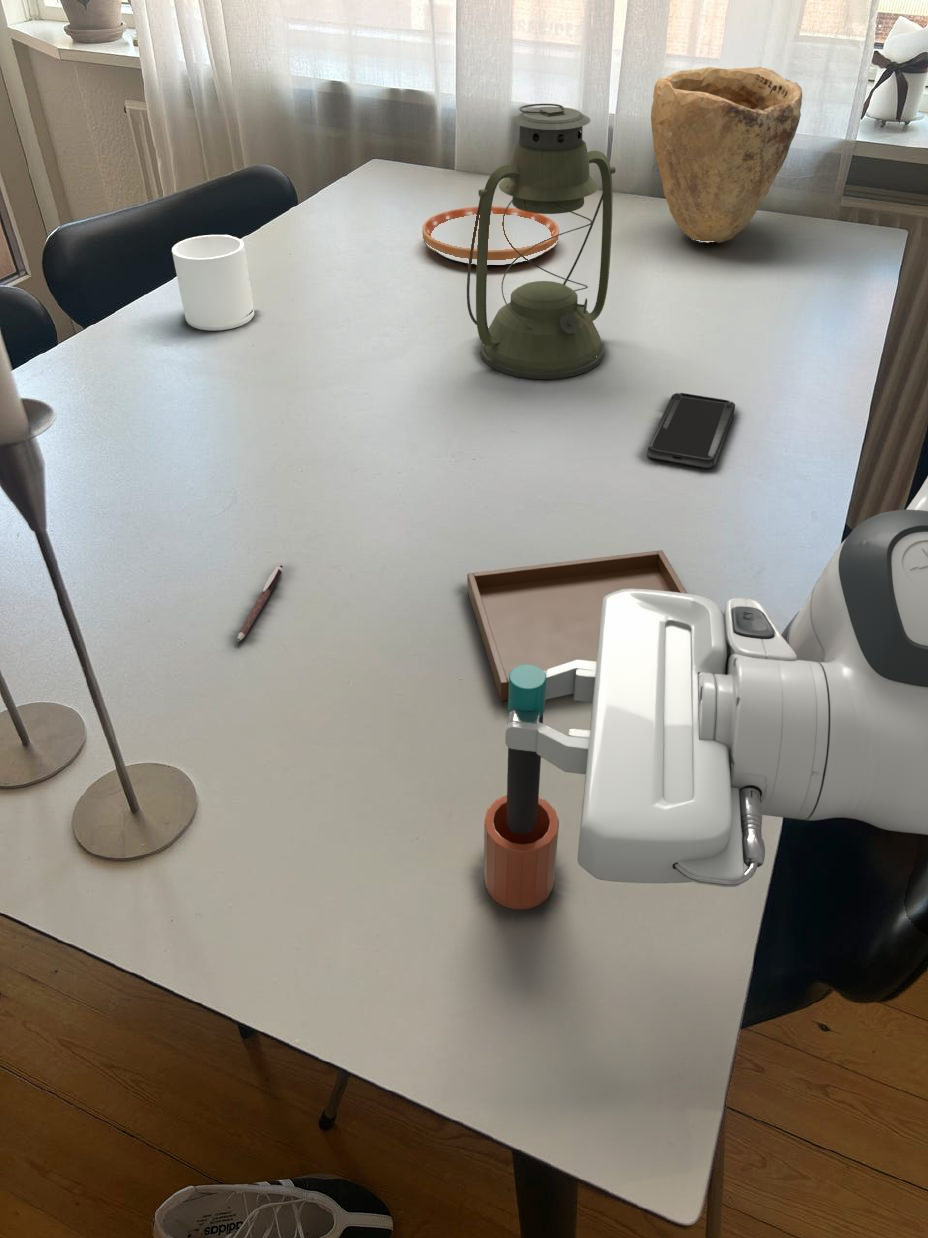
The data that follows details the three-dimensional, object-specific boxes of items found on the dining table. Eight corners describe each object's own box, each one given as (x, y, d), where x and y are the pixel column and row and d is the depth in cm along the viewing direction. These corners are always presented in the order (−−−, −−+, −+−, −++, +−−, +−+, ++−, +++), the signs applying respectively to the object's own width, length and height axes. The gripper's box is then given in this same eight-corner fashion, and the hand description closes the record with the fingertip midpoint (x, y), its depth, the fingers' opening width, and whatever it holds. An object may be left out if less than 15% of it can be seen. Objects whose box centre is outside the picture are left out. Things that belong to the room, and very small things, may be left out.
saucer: (511, 218, 176) (512, 197, 173) (584, 256, 160) (586, 233, 158) (399, 240, 167) (398, 218, 165) (465, 283, 152) (465, 259, 149)
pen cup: (544, 846, 69) (548, 787, 65) (561, 903, 66) (566, 845, 61) (478, 857, 69) (478, 798, 64) (492, 915, 65) (493, 856, 61)
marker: (533, 807, 64) (541, 661, 55) (541, 832, 62) (550, 686, 54) (502, 812, 63) (505, 666, 55) (509, 837, 62) (513, 691, 53)
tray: (659, 567, 95) (662, 549, 93) (718, 671, 83) (722, 653, 82) (467, 590, 92) (467, 573, 91) (500, 701, 81) (500, 683, 79)
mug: (239, 333, 138) (227, 261, 131) (174, 328, 140) (159, 256, 133) (270, 299, 147) (261, 231, 141) (209, 295, 149) (197, 227, 143)
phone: (736, 401, 118) (714, 460, 107) (735, 410, 119) (713, 469, 108) (672, 391, 120) (644, 448, 110) (671, 399, 121) (643, 456, 110)
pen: (278, 569, 95) (276, 560, 94) (286, 570, 95) (284, 561, 94) (234, 643, 86) (232, 635, 86) (242, 644, 86) (240, 636, 86)
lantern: (508, 393, 123) (513, 137, 104) (444, 342, 135) (438, 104, 116) (639, 358, 130) (666, 113, 111) (568, 313, 142) (581, 85, 123)
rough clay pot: (716, 276, 153) (744, 101, 137) (612, 240, 166) (626, 77, 150) (800, 243, 164) (835, 77, 148) (697, 212, 177) (718, 57, 161)
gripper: (756, 927, 48) (483, 889, 50) (737, 657, 64) (529, 636, 66) (781, 850, 44) (484, 812, 46) (754, 581, 60) (532, 561, 62)
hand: (511, 706), depth 56 cm, fingers closed on marker, 2 cm apart
